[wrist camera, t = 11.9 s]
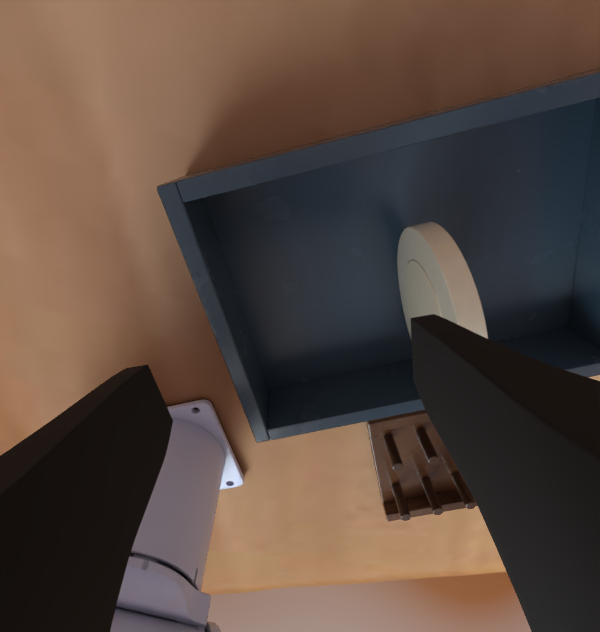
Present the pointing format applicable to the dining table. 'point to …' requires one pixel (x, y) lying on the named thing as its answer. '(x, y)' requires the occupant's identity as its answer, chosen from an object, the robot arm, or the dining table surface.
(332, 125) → the dining table surface
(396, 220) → the dark blue tray
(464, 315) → the plate
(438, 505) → the plate rack
